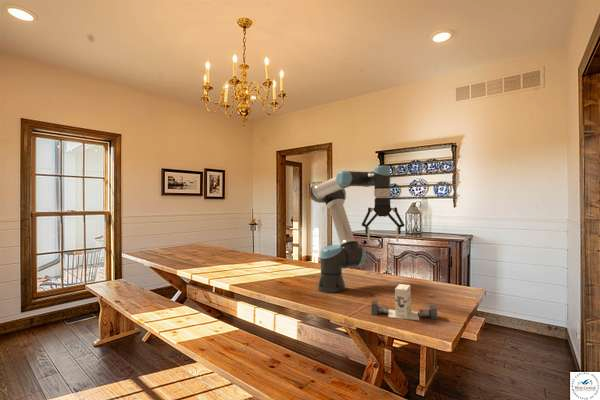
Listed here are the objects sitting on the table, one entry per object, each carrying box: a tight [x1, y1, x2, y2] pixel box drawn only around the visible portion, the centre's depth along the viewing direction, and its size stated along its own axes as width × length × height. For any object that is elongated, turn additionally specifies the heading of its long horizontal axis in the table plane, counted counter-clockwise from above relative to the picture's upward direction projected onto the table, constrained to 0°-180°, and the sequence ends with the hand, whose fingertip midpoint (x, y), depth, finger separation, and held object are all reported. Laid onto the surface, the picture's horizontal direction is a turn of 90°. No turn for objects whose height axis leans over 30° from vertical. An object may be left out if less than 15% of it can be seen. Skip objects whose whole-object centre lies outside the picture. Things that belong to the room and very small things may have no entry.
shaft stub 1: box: [370, 299, 388, 316], centre depth 136 cm, size 6×5×4 cm
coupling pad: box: [388, 309, 420, 321], centre depth 134 cm, size 12×9×1 cm
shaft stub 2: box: [418, 304, 438, 321], centre depth 131 cm, size 6×5×4 cm
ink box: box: [394, 283, 412, 318], centre depth 134 cm, size 9×5×12 cm, turn 151°
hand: (382, 240), depth 155 cm, fingers open, 13 cm apart
